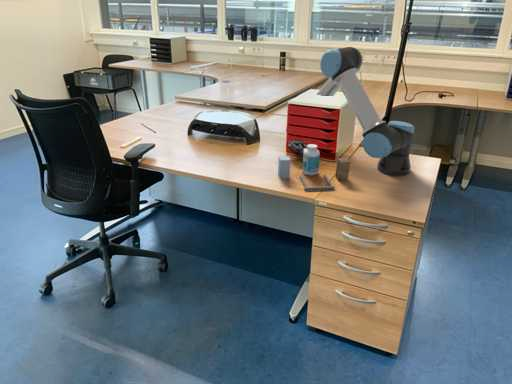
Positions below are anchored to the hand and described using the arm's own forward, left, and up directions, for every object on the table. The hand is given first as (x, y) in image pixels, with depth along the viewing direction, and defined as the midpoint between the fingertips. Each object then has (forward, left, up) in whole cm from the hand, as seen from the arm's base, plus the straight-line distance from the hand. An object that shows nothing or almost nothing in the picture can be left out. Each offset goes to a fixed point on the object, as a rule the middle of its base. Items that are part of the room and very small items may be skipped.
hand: (307, 156), depth 198 cm
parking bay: (+13, +8, -6) cm, 17 cm away
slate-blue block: (+13, -7, -6) cm, 16 cm away
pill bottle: (+4, +3, -7) cm, 8 cm away
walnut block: (+3, +18, -6) cm, 19 cm away
